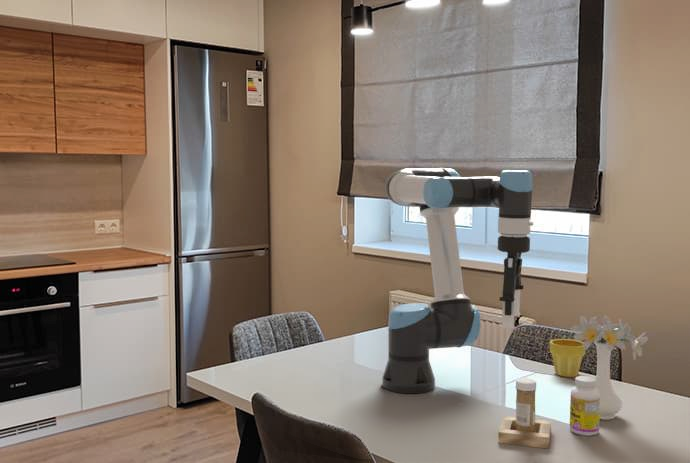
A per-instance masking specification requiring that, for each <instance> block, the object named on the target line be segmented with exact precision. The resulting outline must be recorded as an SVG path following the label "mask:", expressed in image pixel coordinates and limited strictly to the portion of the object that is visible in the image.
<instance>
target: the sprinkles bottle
mask: <svg viewBox="0 0 690 463" xmlns="http://www.w3.org/2000/svg"><path fill="white" fill-rule="evenodd" d="M515 389H516V390H515V391H516V395H515V396H516V397H515V398H516V399H515V417H516V430H517V431H526V432H535V420H536V391H537V390H536V389H537V380H535V379H532V378H529V377H527V378H525V377H521V378H518V379H516V380H515Z"/></svg>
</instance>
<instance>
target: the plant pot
mask: <svg viewBox="0 0 690 463" xmlns="http://www.w3.org/2000/svg"><path fill="white" fill-rule="evenodd" d="M583 343H584V342H583V341H576V340H574V339H569V338H556V339H551V340H550V341H549V352H550V353H551V355H552V356H551V357H552V361H553V366H554V373H555V375H558V376H560V377H566V378H576V377H578V376H579V372H580V368H581V364H582V360H583V357H584V356H585V355H586V350H585V349H584V348H583Z"/></svg>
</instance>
